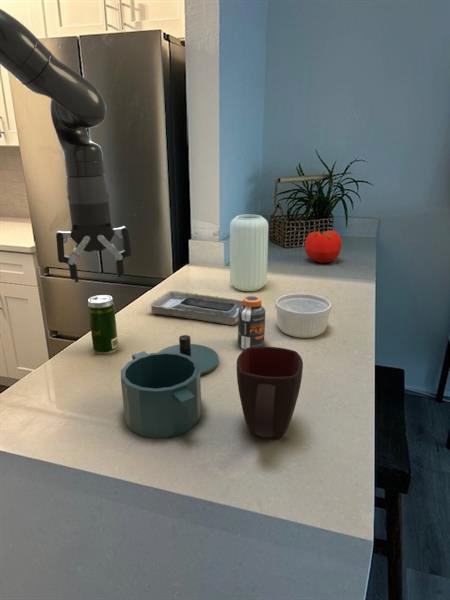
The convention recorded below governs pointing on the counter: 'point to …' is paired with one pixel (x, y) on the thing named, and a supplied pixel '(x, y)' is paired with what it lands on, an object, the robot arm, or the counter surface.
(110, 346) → the beer can
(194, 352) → the pot lid
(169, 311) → the grey metal tray
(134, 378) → the pot
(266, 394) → the cup
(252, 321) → the pill bottle
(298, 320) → the ramekin
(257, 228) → the vase
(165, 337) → the counter surface
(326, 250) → the tomato
